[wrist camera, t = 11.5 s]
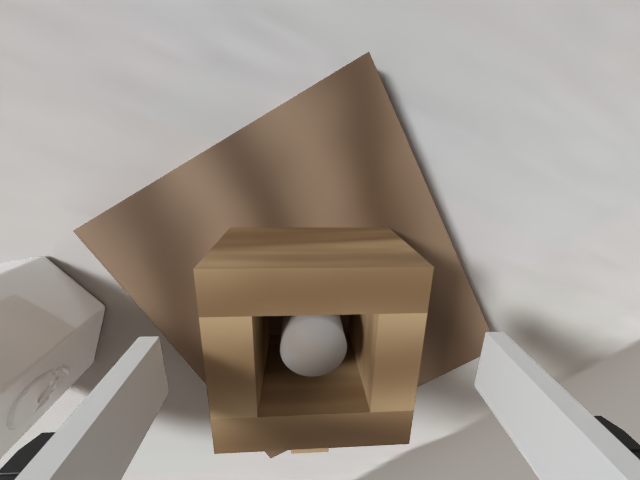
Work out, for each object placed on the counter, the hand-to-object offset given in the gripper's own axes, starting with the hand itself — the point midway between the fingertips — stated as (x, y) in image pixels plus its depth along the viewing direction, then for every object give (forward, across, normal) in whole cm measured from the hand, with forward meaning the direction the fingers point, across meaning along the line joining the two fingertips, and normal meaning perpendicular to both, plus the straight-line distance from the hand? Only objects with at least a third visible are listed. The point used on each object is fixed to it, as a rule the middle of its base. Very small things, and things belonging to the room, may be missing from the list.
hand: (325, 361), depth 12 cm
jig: (+8, -1, 0) cm, 8 cm away
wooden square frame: (+6, -1, -3) cm, 7 cm away
